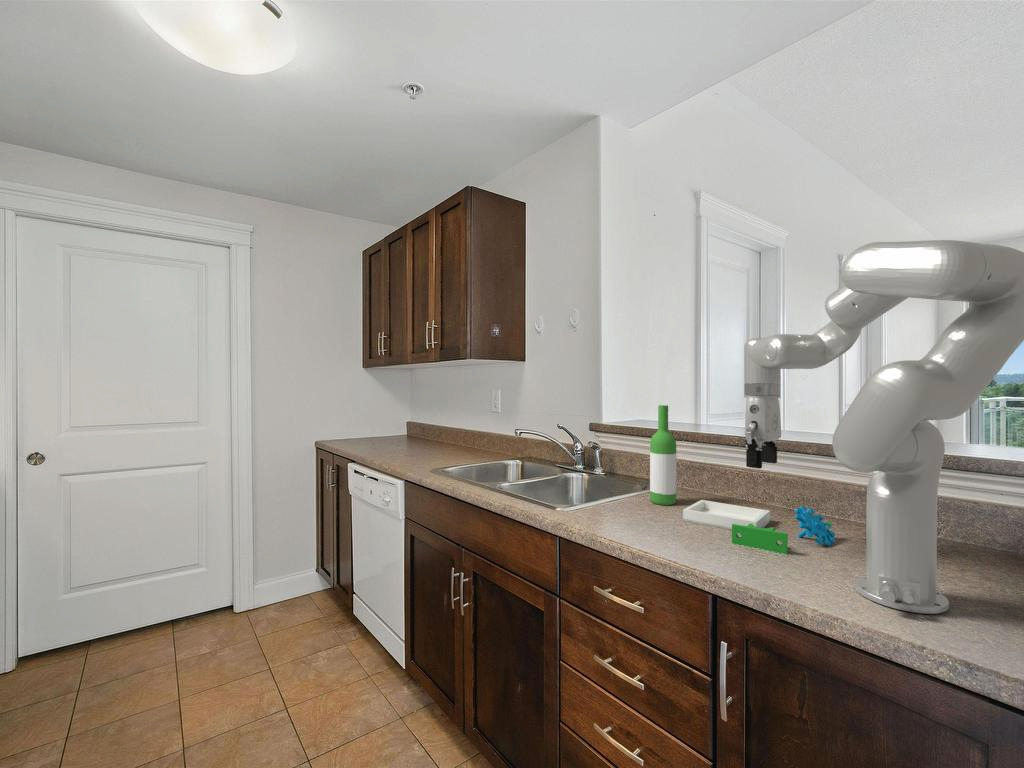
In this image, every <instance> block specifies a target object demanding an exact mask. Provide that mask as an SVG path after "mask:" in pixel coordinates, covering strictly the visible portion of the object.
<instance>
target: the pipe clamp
mask: <svg viewBox="0 0 1024 768" xmlns="http://www.w3.org/2000/svg"><path fill="white" fill-rule="evenodd" d="M775 529H776V528H775V527H772V526H771V527H764V528H760V527H756V526H754V525H753V524H749V525H748V526H743V525H737V524H732V530H731V544H732V543H733V544H732V545H736V544H738V545H737V546H741V545H744V546H743V547H747V546H749V547H748V548H752V547H754V548H753V549H757V548H759V550H762V549H764V550H763V551H767V550H768V551H767V552H772V551H773V553H778V554H782V553H783V555H788V554H789V553H788V548H789V547H788V545H789V544H788V543H789V542H788V536H789V535H788V533H787V532H781V531H776V530H775ZM738 534H739V535H740V536H739V535H738ZM778 542H780V543H781V544H780V543H778Z"/></svg>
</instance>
